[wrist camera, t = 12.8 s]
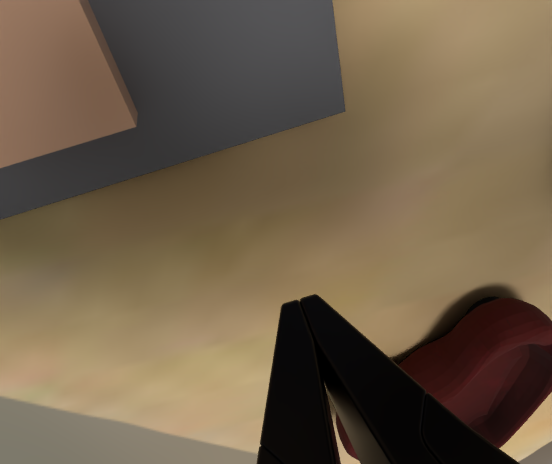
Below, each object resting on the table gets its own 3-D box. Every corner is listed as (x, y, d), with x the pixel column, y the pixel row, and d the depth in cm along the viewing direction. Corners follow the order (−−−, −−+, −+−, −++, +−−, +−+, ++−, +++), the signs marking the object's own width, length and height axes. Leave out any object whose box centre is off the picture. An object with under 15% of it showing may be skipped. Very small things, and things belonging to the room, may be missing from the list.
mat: (286, -327, 12) (291, -338, 11) (340, 107, 20) (345, 111, 19) (-370, -165, 11) (-394, -170, 10) (-34, 224, 19) (-39, 231, 18)
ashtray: (390, 446, 42) (415, 498, 38) (306, 389, 33) (327, 451, 29) (548, 353, 39) (592, 400, 35) (504, 261, 30) (559, 310, 26)
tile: (9, -153, 11) (-222, -92, 11) (136, 126, 16) (-20, 174, 15) (24, -143, 12) (-182, -89, 12) (137, 112, 17) (-6, 156, 17)
